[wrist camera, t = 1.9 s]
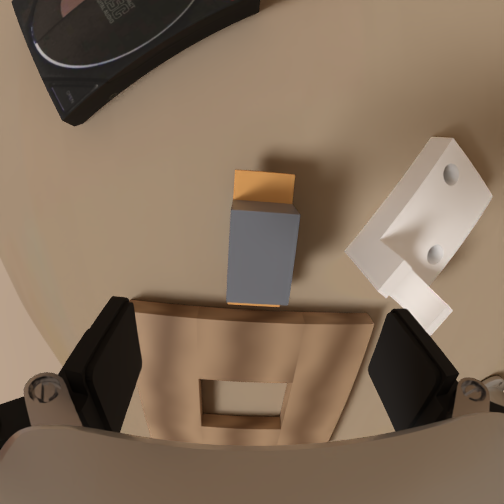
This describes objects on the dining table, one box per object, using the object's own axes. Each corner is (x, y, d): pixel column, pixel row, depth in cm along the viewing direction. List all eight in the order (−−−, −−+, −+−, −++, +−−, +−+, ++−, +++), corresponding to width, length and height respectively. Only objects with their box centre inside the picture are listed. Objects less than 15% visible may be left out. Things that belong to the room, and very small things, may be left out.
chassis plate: (367, 312, 27) (374, 324, 25) (319, 444, 34) (321, 455, 32) (130, 299, 26) (123, 310, 24) (157, 437, 33) (154, 448, 31)
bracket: (392, 291, 26) (430, 335, 19) (343, 250, 25) (377, 291, 18) (469, 189, 23) (523, 207, 16) (429, 136, 21) (486, 140, 14)
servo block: (289, 171, 22) (304, 180, 17) (276, 290, 26) (284, 330, 20) (236, 167, 22) (233, 174, 16) (229, 287, 26) (225, 327, 20)
